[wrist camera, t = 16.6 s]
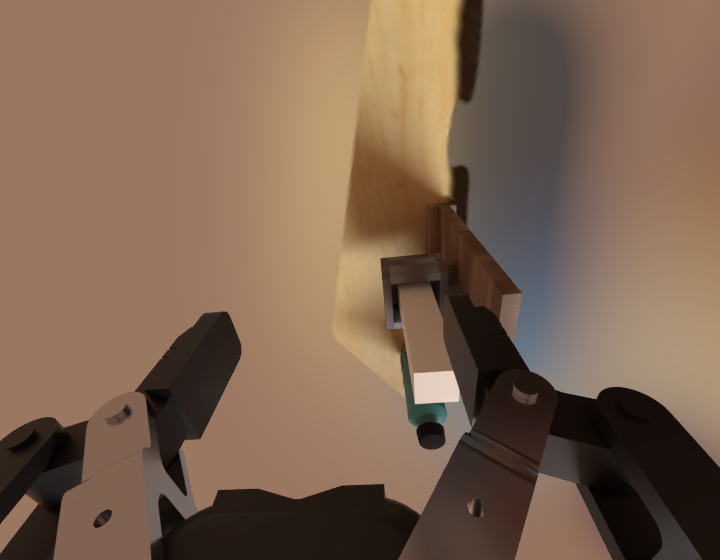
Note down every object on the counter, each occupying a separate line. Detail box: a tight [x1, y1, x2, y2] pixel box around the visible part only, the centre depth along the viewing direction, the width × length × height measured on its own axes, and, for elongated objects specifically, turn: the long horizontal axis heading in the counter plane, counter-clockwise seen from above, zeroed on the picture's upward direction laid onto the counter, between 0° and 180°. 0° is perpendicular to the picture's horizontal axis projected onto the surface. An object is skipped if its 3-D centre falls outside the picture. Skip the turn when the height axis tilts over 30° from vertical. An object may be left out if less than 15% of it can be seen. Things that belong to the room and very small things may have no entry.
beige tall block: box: [397, 281, 460, 404], centre depth 35 cm, size 4×4×18 cm
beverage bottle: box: [400, 347, 447, 450], centre depth 53 cm, size 6×7×20 cm
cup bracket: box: [380, 202, 522, 342], centre depth 40 cm, size 12×16×26 cm
